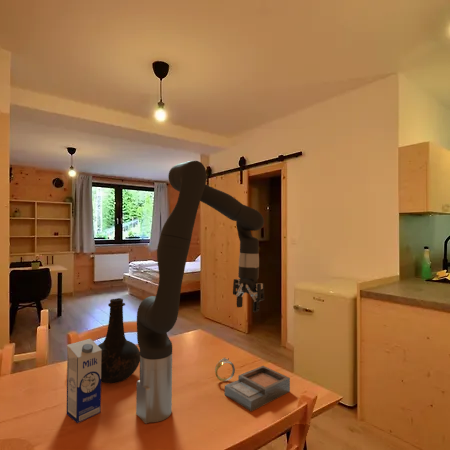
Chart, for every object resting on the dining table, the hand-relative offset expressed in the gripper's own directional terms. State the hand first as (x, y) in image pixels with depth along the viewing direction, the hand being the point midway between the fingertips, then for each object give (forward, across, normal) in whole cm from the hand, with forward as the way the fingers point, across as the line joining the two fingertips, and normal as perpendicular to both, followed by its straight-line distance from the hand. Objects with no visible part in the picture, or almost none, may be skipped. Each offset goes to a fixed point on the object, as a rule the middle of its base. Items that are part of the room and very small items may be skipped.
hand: (247, 309), depth 117 cm
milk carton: (+26, -12, -53) cm, 60 cm away
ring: (+24, -1, -9) cm, 26 cm away
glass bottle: (+25, -28, -38) cm, 54 cm away
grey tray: (+24, +12, -6) cm, 27 cm away
